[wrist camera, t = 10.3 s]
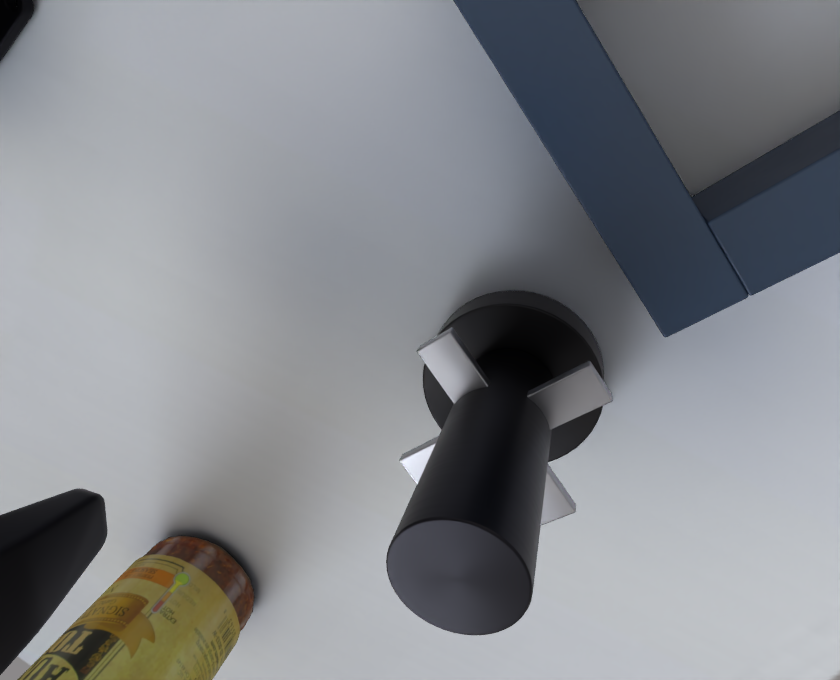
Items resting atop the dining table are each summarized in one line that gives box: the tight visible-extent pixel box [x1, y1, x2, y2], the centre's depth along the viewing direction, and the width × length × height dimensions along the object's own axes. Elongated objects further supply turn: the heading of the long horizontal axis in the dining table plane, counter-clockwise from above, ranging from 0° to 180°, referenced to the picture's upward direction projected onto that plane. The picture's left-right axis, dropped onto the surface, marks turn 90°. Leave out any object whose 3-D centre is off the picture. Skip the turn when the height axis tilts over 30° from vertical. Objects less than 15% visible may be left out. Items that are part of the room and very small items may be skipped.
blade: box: [386, 291, 612, 635], centre depth 16 cm, size 7×7×10 cm
